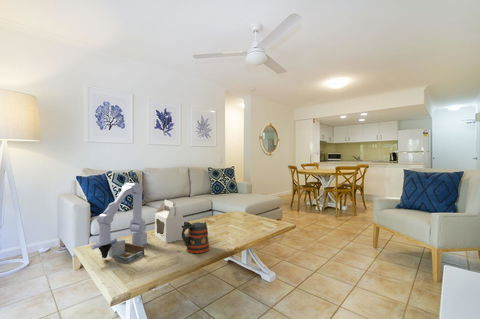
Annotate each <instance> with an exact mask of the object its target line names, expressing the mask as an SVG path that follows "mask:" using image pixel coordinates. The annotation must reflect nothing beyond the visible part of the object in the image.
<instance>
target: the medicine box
mask: <svg viewBox="0 0 480 319" xmlns="http://www.w3.org/2000/svg"><path fill="white" fill-rule="evenodd" d="M125 242H126V240H125V239H124V238H119V239H118V238H117V242H113V243H110V244H111V245H112V246H111V248H110V250H109V252H108V256H109V257H110V258H115V256H116V255H118V256H122V255H124V254H126V252H125Z"/></svg>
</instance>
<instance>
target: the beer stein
mask: <svg viewBox="0 0 480 319" xmlns="http://www.w3.org/2000/svg"><path fill="white" fill-rule="evenodd" d="M182 228H183V230H182V241H183V242H184V246H185V247H186V251H187V252H188V253H190V254H196V253H197V254H202V253H206V252H208V251H209V250H210V246H209V245H210V242H209V232H208V225H207V222H206V221H205V222H193V223H190V222H188V221H183V226H182ZM187 230H188V232H187V236H186V235H185V232H186V231H187Z"/></svg>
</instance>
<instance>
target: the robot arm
mask: <svg viewBox="0 0 480 319" xmlns="http://www.w3.org/2000/svg"><path fill="white" fill-rule="evenodd" d="M142 191H143V190H142V185H141V184H140V183H139V182H125V183H124V184H123V185H122V186H121V190H120V192H119V193H118V195H117V197H116V198H115V199H114V201H113V202H110V203H109V204H108V206H107V207H106V208H105V210H104V211H103V213H101V214H99V215H98V216H97V218H96V222H97V223H98V227H99V230H98V231H99V232H98V233H99V235H98V236H99V237H98V239H99V240H98V242H97V243H95V244H93V245H91V250H93V251H94V250H96V249H98V250H99V251H100V253H101V257H102V259H107V258H108V256H109V250H110V248H111V246H112V245H111V244H110V243H113V242H117V240H118V237H113V238H112V237H111V236H112V235H111V234H112V232H111V230H112V227H111V225H112V222H113V221H114V217H115V214H116V213H117V212H118V210H119V209H120V204H121V203H122V202H123V201H124V200H125V199H126V197H128V195H131V196H133V197H132V198H133V200H132V202H133V203H132V205H133V206H132V211H133V212H132V219H131V220H130V223H129V227H128V230H129V231H130V233H131V244H135V245H140V246H145V245H147V244H148V234H147V231H146V230H147V225H146V221H145V219H144V218H143V192H142Z"/></svg>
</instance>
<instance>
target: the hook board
mask: <svg viewBox="0 0 480 319" xmlns="http://www.w3.org/2000/svg"><path fill="white" fill-rule="evenodd" d="M125 253H130V254H132V255H130V256H127V257H125V256H122V255H116V256H115V257H114V261H115V262H119V263H124V264H128V263H131V262H132V261H134V260H137V259H139V258H141V257H142V256H145V245H143V246H140V245H135V244H132V243H130V242H126V241H125Z"/></svg>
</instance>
